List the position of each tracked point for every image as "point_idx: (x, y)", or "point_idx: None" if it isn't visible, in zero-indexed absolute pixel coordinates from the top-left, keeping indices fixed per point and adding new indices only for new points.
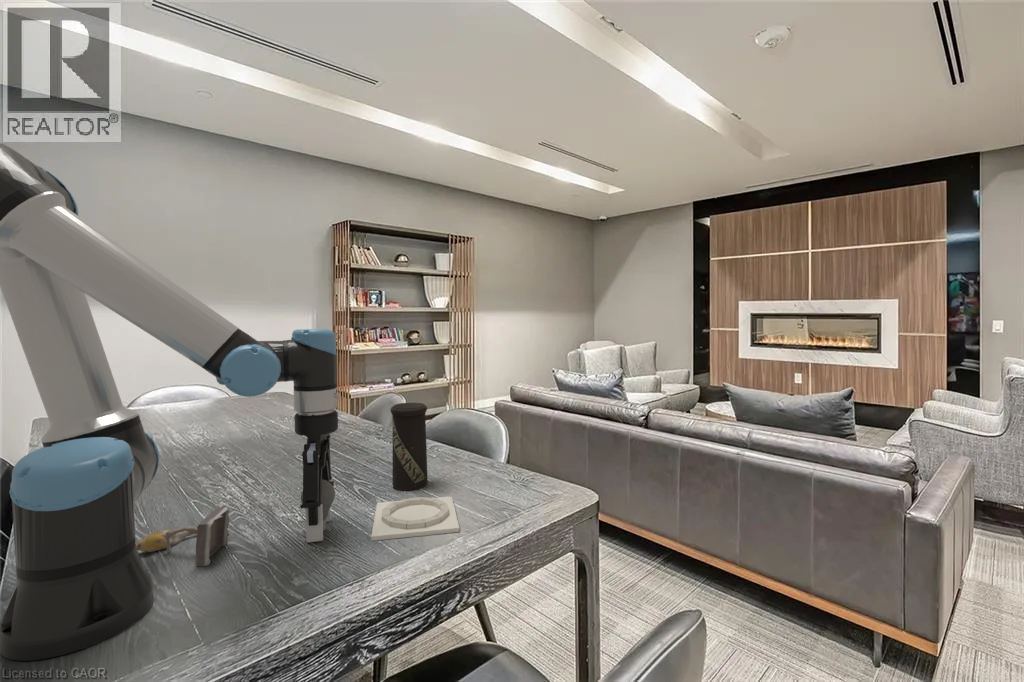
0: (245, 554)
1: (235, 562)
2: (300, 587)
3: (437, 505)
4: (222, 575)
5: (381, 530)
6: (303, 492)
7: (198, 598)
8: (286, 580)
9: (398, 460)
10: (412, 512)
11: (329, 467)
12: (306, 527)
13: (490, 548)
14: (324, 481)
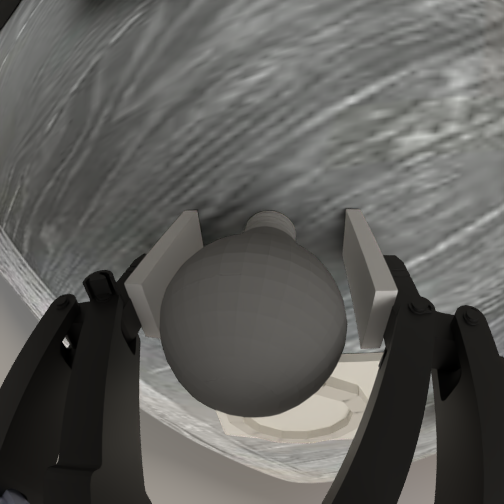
0: (135, 46)
1: (97, 49)
2: (38, 243)
3: (315, 434)
4: (51, 64)
5: None
6: (28, 344)
7: (5, 83)
8: (45, 213)
9: None
10: (309, 408)
11: (437, 426)
12: (164, 235)
13: (179, 432)
14: (234, 415)
